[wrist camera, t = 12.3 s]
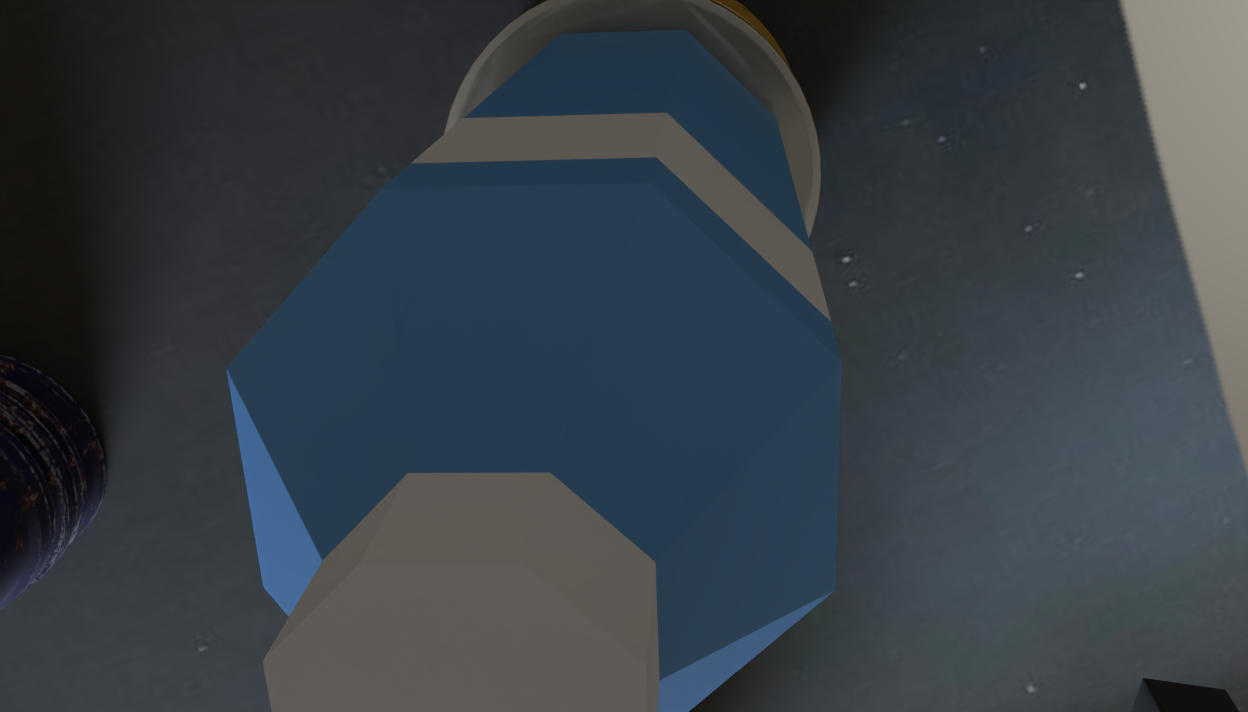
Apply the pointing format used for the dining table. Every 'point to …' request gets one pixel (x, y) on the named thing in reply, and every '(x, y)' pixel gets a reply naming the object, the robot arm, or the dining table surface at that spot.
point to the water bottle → (552, 406)
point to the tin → (653, 5)
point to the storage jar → (42, 474)
